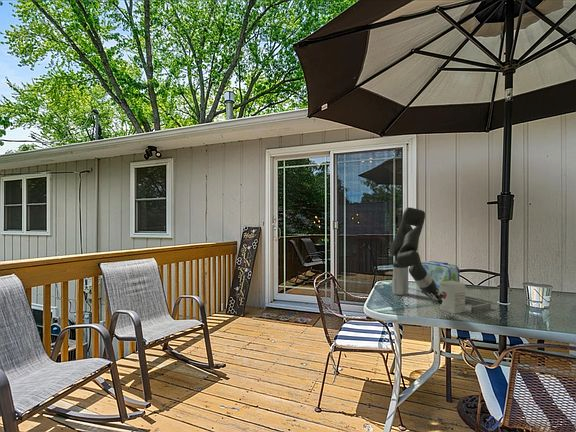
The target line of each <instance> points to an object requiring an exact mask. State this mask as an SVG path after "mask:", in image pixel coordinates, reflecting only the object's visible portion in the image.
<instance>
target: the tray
mask: <svg viewBox="0 0 576 432" xmlns="http://www.w3.org/2000/svg"><path fill="white" fill-rule="evenodd" d="M465 305H470V306H471V307H470V308H471V309H470V312H471V313H473V314H476V313H479V312H484V311H488V310H491V309H492V303H491V302H486V301H484V300H483V301H482V300H477V299H474V298H473V299H472V298H468V297H465Z"/></svg>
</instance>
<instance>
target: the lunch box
mask: <svg viewBox="0 0 576 432" xmlns="http://www.w3.org/2000/svg"><path fill="white" fill-rule="evenodd" d="M421 263H422V266H423V267H424V269H425V270H426V271H427V272H428V273H429V275H430V276H431V277H432V279H433V280H434V282H435V283H436V288H438V289H439V291H440V282H443V281H456V282H461V281H460V279H461V277H460V273H461V271H460V269H459V267H458V266H457V265H456V264H449V263H448V262H440V261H433V260H431V261H423V262H422V261H421ZM418 288H419V289H420V287H419V286H418Z"/></svg>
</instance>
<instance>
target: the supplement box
mask: <svg viewBox="0 0 576 432" xmlns="http://www.w3.org/2000/svg"><path fill="white" fill-rule="evenodd" d="M442 291H443V292H445V293H444V295H443V297H442V301H443V302H442V304H441V305H440V304H439V310H440V311H444V312H446V313H450V314H460V313H465V312H466V304H465V298H466V283H465V282H461V281H460V282H456V281H443V282H440V292H442Z"/></svg>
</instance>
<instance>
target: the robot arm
mask: <svg viewBox="0 0 576 432" xmlns="http://www.w3.org/2000/svg"><path fill="white" fill-rule="evenodd" d="M425 219H426V212H425V211H424V210H422V209H418V208H414V207H406V208H405V209H404V211H403V214H402V217H401V221H400V224H399V226H398V228H397V231H396V233H395V237H394V239H393V241H392V242H391V244H390V246H389V247H390V248H389V249H390V251H389V252H390V255H392V256H393V257H396V261H393V262H392V277H391V293H392V294H393V295H399V296H407V295H408V294H409V274H410V276H411V277H412V279H413V280H414V282H415V283H416V285H417V286H418V288H419V287H420V288H419V289H420V292H421V293H422V294H423V295H425V296H427V297H428V298H429V299H433V300H434V301H435V302H436V304H437V305H439V306H440V305H441V304H442V302H443V301H442V297H443V295H444V293H445V292H443V291H442V292H440V291H439V289H438V288H436V283H435V282H434V280H433V279H432V277H431V276H430V275H429V273H428V272H427V271H426V270H425V269H424V267H423V266H422V261H421V257H420V254H419V253H418V246H419V242H420V241H419V240H420V237H421V233H422V231H423V227H424V223H425ZM413 227H414V228H413Z"/></svg>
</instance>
